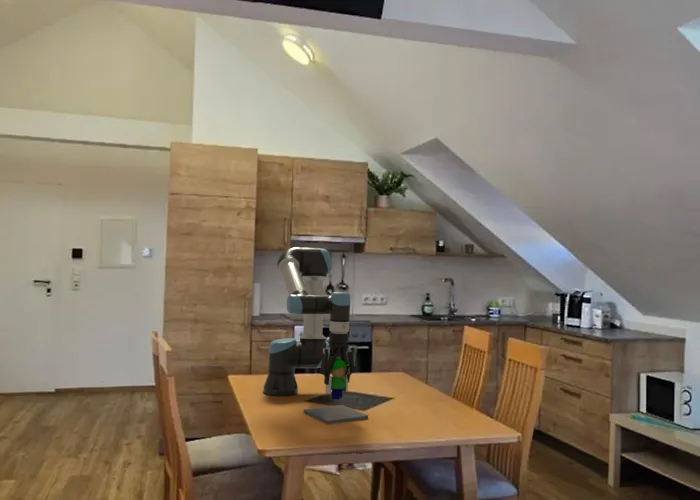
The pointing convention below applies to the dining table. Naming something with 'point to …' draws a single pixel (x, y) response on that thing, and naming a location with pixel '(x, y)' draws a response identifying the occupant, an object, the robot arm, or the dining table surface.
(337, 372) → the toy
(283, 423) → the dining table surface
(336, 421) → the plate
